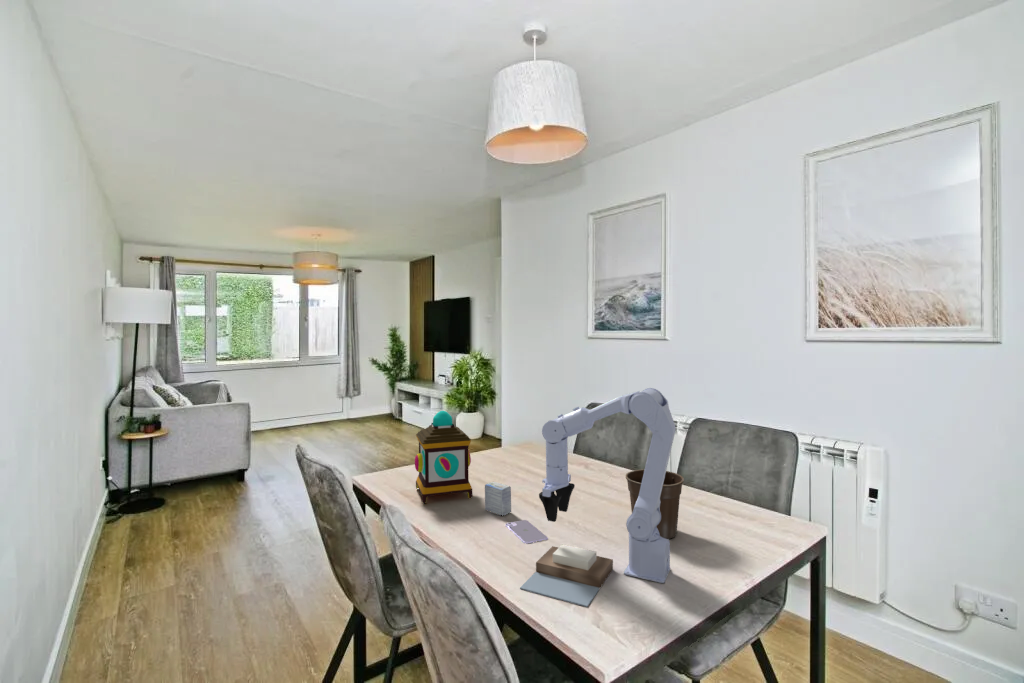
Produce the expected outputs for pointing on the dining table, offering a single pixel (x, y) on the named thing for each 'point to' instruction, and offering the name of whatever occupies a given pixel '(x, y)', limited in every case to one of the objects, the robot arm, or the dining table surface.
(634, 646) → the dining table surface
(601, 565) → the walnut board
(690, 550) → the dining table surface
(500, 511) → the stack of paper
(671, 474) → the plant pot
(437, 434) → the decorative lantern
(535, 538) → the mobile phone
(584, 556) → the cream block
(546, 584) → the slate mat
